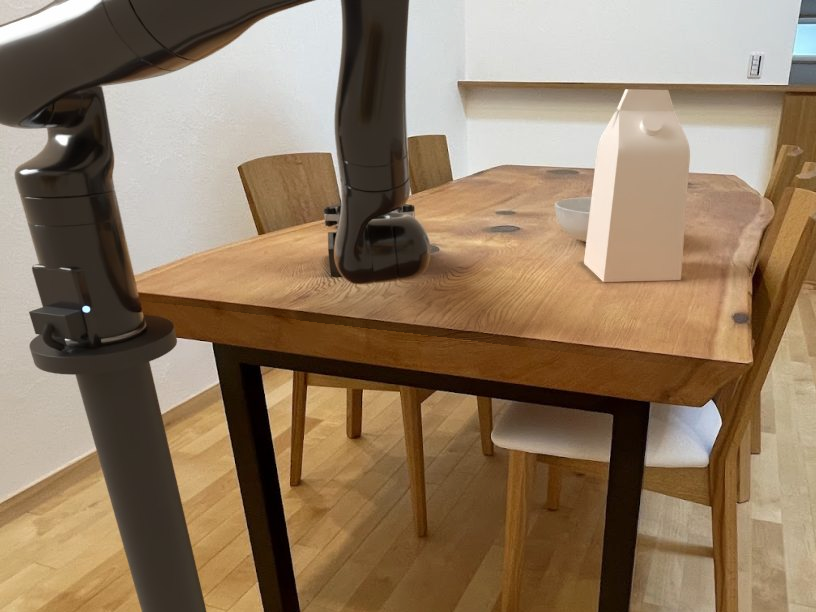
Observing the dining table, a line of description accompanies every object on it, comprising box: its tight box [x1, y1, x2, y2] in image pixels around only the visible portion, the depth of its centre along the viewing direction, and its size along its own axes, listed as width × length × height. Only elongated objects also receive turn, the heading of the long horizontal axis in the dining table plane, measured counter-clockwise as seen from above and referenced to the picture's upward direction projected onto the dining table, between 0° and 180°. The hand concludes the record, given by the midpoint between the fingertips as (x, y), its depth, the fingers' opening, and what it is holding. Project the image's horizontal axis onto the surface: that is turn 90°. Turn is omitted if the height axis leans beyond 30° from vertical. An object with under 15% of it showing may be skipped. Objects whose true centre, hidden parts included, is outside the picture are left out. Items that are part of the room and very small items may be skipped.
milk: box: [583, 88, 691, 283], centre depth 98 cm, size 12×12×26 cm
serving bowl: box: [554, 196, 592, 243], centre depth 121 cm, size 21×21×7 cm
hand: (367, 206), depth 104 cm, fingers closed
